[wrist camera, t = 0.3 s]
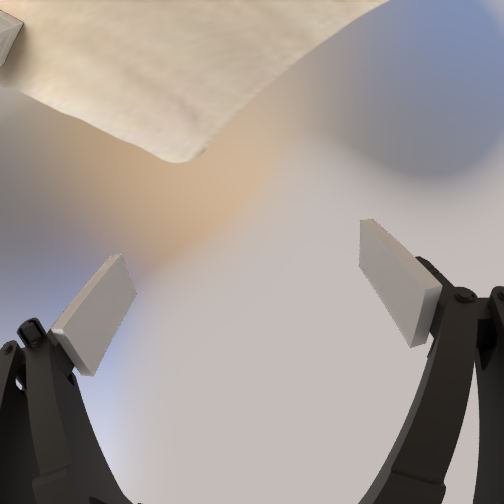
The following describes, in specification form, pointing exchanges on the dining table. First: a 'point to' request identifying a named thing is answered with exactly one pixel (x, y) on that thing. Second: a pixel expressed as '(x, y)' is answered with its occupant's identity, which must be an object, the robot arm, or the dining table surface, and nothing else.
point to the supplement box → (7, 34)
